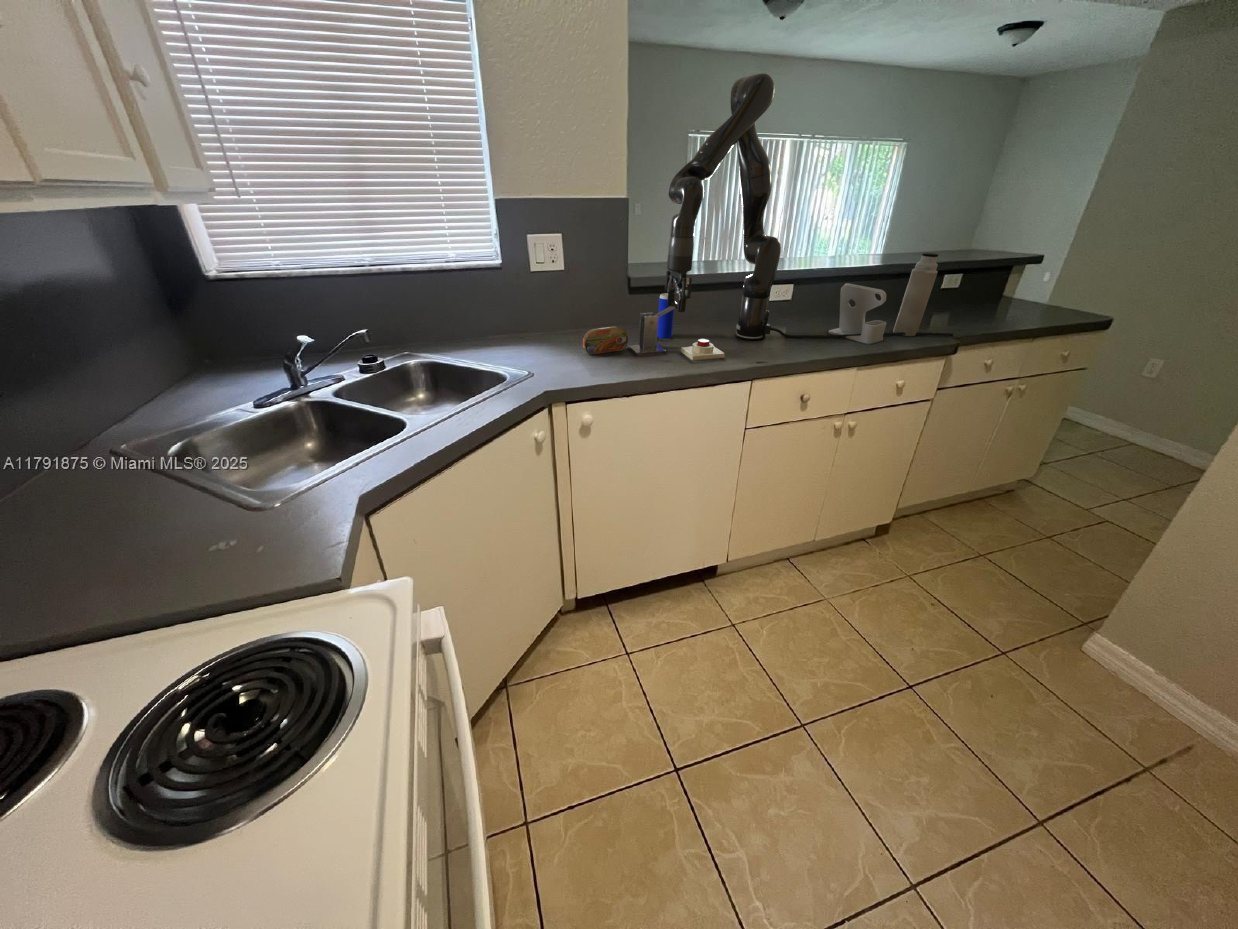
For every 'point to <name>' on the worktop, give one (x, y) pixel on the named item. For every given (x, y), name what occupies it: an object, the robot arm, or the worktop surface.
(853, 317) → the phone holder
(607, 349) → the tin
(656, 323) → the press bracket
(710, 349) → the button block
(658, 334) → the beverage can
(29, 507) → the worktop surface
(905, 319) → the thermos bottle
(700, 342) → the button
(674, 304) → the press lever
